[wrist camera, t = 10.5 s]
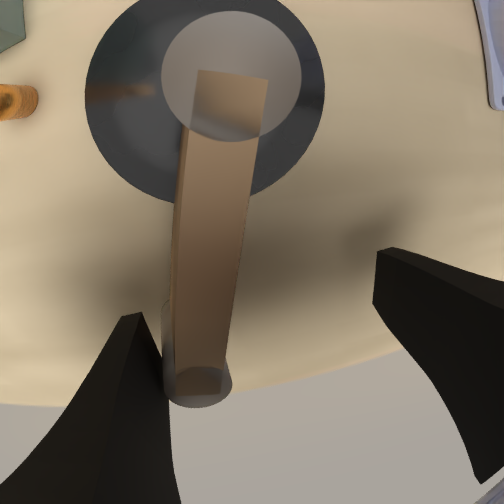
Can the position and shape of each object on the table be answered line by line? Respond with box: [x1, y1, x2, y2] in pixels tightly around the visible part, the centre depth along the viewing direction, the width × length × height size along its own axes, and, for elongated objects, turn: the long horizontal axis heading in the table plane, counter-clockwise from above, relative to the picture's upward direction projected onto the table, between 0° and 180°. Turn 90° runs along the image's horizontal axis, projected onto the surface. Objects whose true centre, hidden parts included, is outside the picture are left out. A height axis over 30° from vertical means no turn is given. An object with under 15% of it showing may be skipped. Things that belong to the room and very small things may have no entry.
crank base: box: [0, 0, 325, 203], centre depth 7 cm, size 10×7×3 cm
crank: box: [161, 11, 301, 408], centre depth 7 cm, size 9×2×3 cm, turn 171°
